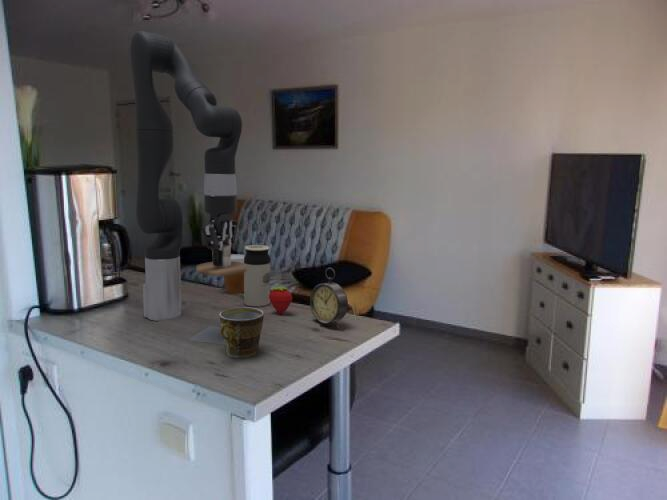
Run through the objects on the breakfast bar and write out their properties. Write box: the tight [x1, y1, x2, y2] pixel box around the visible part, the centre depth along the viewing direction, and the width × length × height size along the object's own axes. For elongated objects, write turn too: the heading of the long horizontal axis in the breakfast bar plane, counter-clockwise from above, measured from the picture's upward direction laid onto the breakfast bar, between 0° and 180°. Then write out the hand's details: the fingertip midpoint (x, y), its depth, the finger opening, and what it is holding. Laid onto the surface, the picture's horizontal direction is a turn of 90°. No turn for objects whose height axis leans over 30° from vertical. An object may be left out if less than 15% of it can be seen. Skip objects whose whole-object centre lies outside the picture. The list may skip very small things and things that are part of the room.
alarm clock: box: [309, 267, 349, 330], centre depth 138 cm, size 11×5×16 cm, turn 47°
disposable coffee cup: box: [223, 253, 246, 294], centre depth 171 cm, size 10×10×12 cm
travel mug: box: [243, 244, 271, 308], centre depth 156 cm, size 8×8×18 cm
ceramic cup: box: [218, 306, 265, 359], centre depth 115 cm, size 13×10×10 cm
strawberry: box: [269, 281, 293, 316], centre depth 147 cm, size 6×8×10 cm
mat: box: [187, 325, 226, 346], centre depth 128 cm, size 11×11×1 cm
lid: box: [196, 244, 247, 277], centre depth 123 cm, size 12×12×6 cm
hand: (221, 263), depth 123 cm, fingers closed on lid, 3 cm apart
